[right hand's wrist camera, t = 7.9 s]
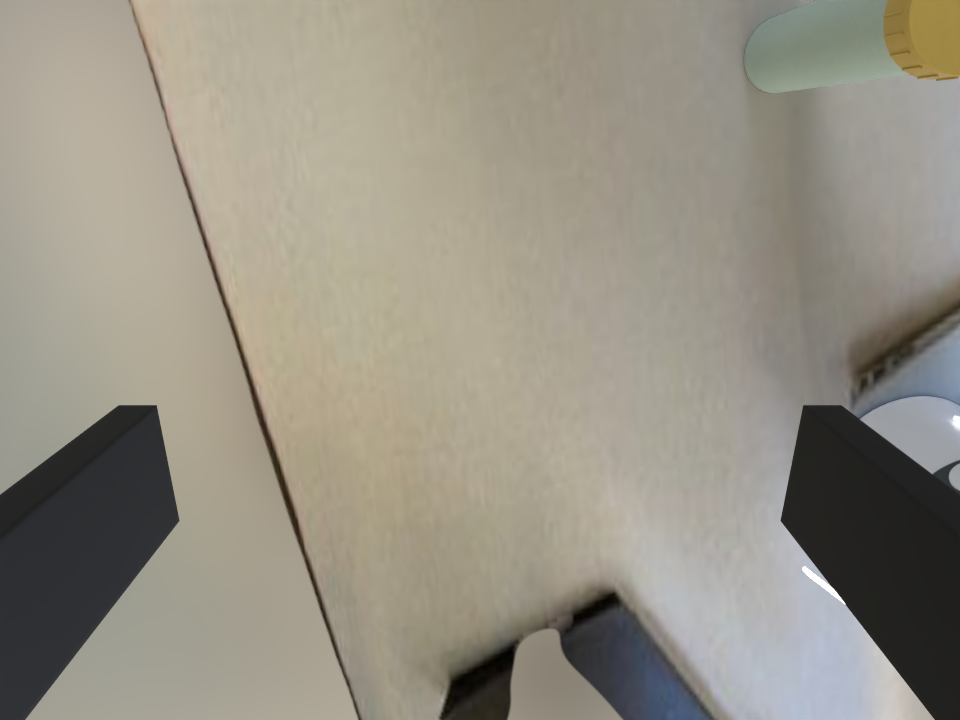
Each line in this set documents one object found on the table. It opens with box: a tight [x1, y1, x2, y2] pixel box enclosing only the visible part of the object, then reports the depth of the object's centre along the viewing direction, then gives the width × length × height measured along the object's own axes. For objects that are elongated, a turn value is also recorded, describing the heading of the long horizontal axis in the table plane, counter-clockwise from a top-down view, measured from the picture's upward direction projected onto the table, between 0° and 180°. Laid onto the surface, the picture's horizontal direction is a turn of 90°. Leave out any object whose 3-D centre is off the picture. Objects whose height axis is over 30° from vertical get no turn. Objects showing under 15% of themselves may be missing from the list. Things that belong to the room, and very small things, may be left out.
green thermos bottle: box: [744, 0, 910, 93], centre depth 38 cm, size 5×5×19 cm
